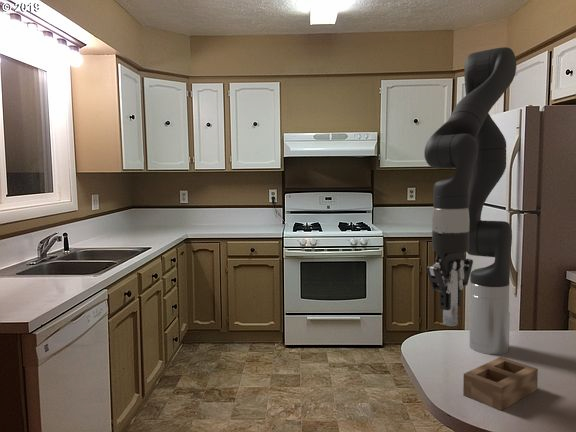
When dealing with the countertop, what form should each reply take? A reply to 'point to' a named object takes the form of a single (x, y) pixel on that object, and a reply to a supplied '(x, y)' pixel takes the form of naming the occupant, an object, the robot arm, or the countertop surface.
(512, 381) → the hole block
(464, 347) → the countertop surface
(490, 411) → the countertop surface
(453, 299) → the peg
